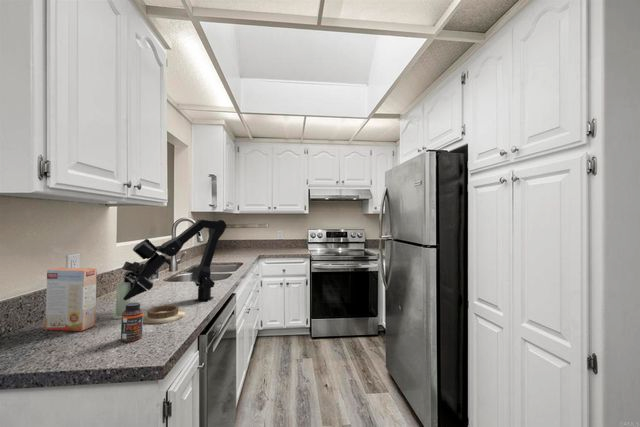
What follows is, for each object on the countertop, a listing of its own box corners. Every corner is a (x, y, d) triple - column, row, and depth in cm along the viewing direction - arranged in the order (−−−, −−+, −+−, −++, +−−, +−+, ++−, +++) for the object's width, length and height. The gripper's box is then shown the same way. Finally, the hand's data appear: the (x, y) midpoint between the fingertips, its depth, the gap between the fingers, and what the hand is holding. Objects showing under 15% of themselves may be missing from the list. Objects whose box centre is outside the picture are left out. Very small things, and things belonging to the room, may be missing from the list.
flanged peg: (121, 312, 121) (122, 281, 121) (137, 313, 120) (138, 281, 120) (107, 318, 114) (108, 284, 114) (123, 319, 113) (124, 285, 113)
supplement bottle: (124, 344, 91) (125, 307, 91) (117, 339, 95) (118, 304, 95) (145, 338, 96) (146, 303, 96) (138, 333, 99) (138, 300, 100)
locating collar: (158, 309, 126) (158, 302, 126) (193, 311, 123) (193, 304, 124) (129, 322, 110) (129, 314, 110) (168, 325, 108) (169, 317, 108)
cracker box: (96, 325, 106) (97, 267, 107) (81, 332, 100) (82, 270, 101) (61, 324, 108) (62, 266, 108) (44, 330, 102) (46, 269, 102)
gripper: (129, 252, 127) (97, 281, 118) (145, 256, 114) (110, 289, 106) (149, 268, 132) (119, 297, 124) (165, 273, 120) (134, 306, 112)
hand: (120, 297), depth 116 cm, fingers open, 9 cm apart
